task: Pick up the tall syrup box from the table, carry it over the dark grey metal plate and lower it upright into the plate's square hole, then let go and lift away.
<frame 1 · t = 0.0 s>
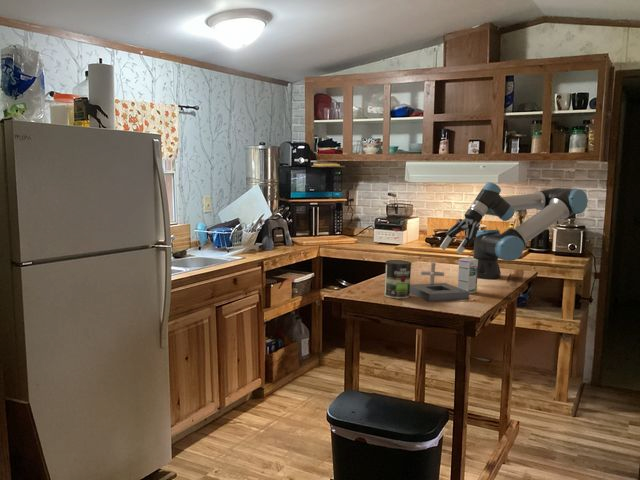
hand: (449, 250, 248), 15 cm above the kitchen island, tool tilted 35°, fingers open, 13 cm apart
pipe connector: (431, 285, 248), on the kitchen island
square hole plate: (437, 295, 226), on the kitchen island
syrup box: (466, 292, 234), on the kitchen island
coffee can: (396, 296, 224), on the kitchen island
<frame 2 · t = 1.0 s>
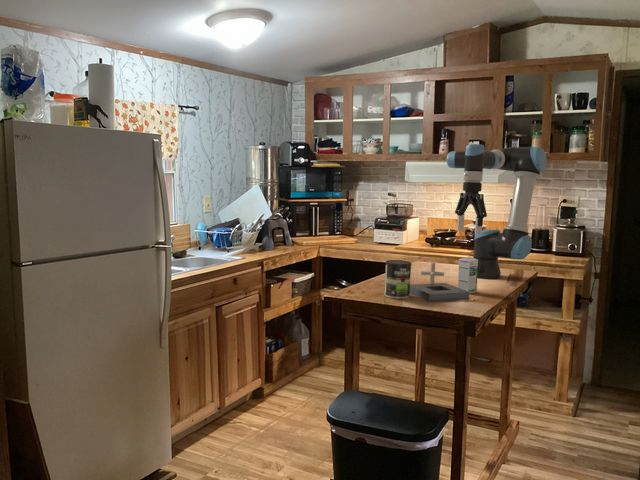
hand: (468, 232, 232), 25 cm above the kitchen island, tool pointing down, fingers open, 13 cm apart
nothing on the kitchen island moved.
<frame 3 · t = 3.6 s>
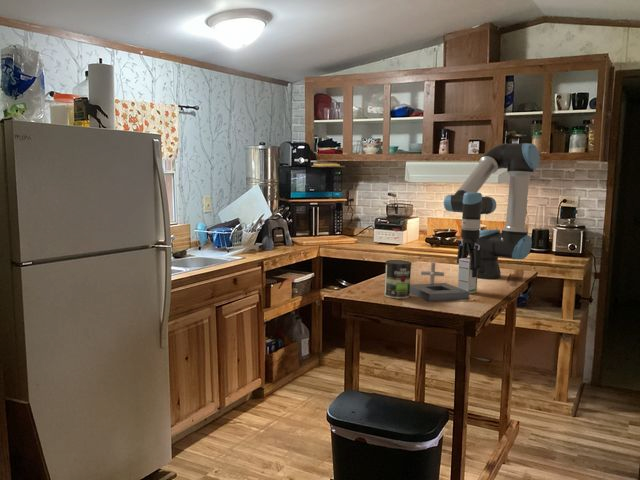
hand: (467, 282, 234), 4 cm above the kitchen island, tool pointing down, fingers closed on syrup box, 7 cm apart
syrup box: (466, 292, 234), on the kitchen island, touching gripper
everything else where it was.
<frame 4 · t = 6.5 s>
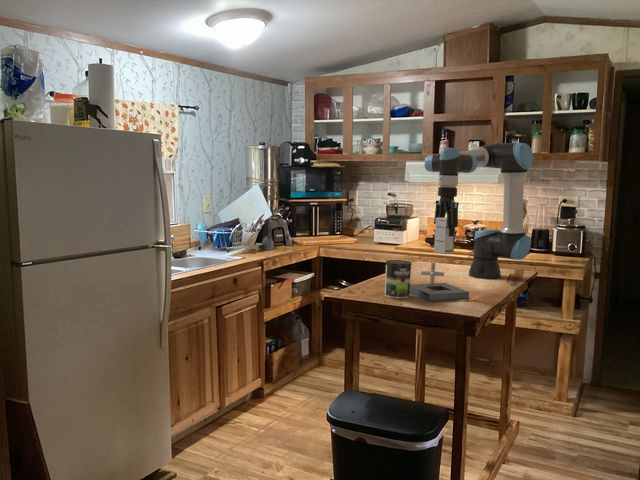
hand: (444, 243, 225), 22 cm above the kitchen island, tool pointing down, fingers closed on syrup box, 7 cm apart
syrup box: (443, 253, 225), point 17 cm above the kitchen island, touching gripper
everything else where it was.
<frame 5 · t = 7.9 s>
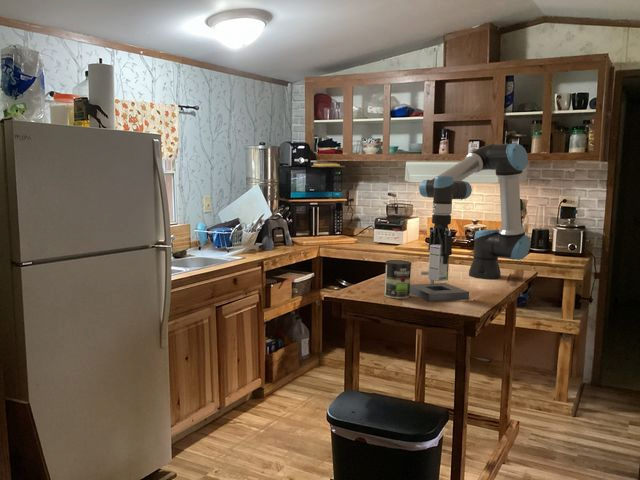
hand: (438, 270, 225), 11 cm above the kitchen island, tool pointing down, fingers closed on syrup box, 7 cm apart
syrup box: (437, 280, 226), point 6 cm above the kitchen island, touching gripper
everything else where it was.
when the fingers open (5 cm above the kitchen island, at t = 9.3 s): syrup box drops 1 cm, resting in square hole plate.
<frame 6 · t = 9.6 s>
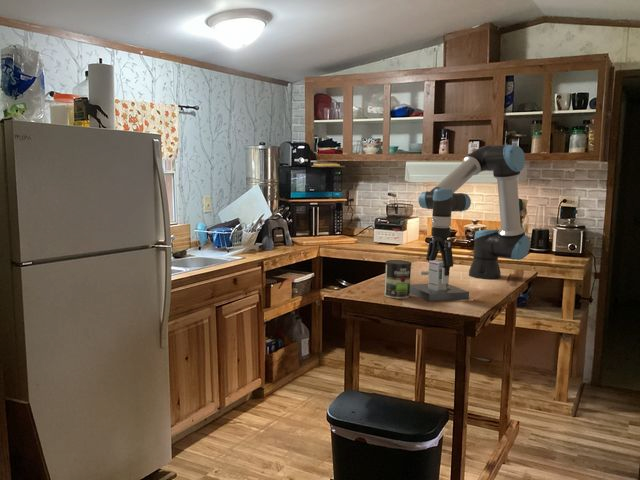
hand: (438, 280, 226), 6 cm above the kitchen island, tool pointing down, fingers open, 10 cm apart
syrup box: (437, 295, 227), resting in square hole plate
everything else where it was.
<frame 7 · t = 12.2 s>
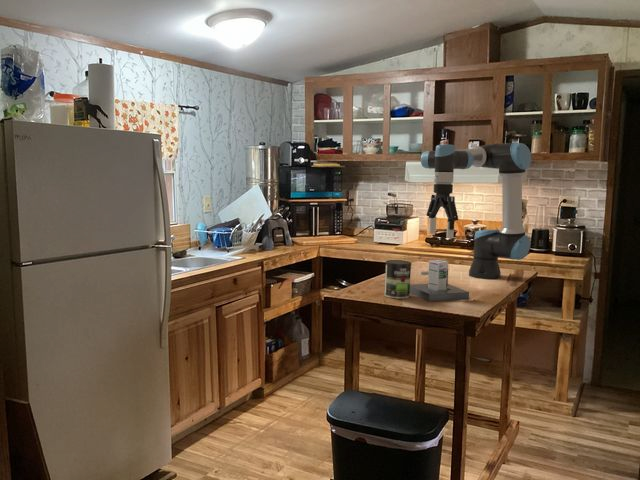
hand: (440, 235, 224), 25 cm above the kitchen island, tool pointing down, fingers open, 13 cm apart
nothing on the kitchen island moved.
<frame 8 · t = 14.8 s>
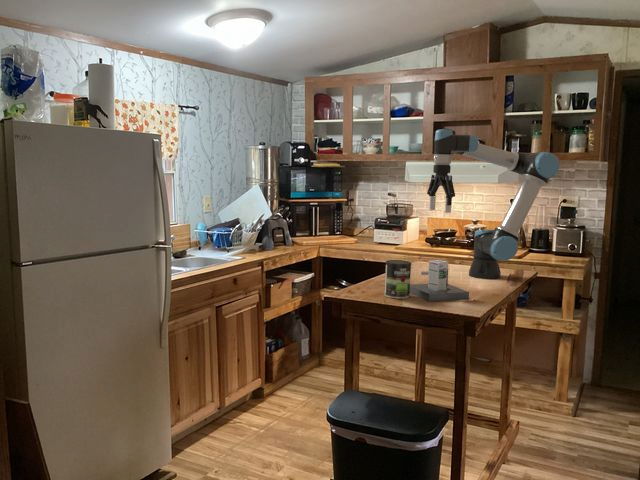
hand: (439, 211, 250), 33 cm above the kitchen island, tool pointing down, fingers open, 13 cm apart
nothing on the kitchen island moved.
at the end: syrup box 0.2 cm off-centre on the square hole plate, point 0.0 cm above the square hole plate's base; syrup box tilted 0°; the gripper is holding nothing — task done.
